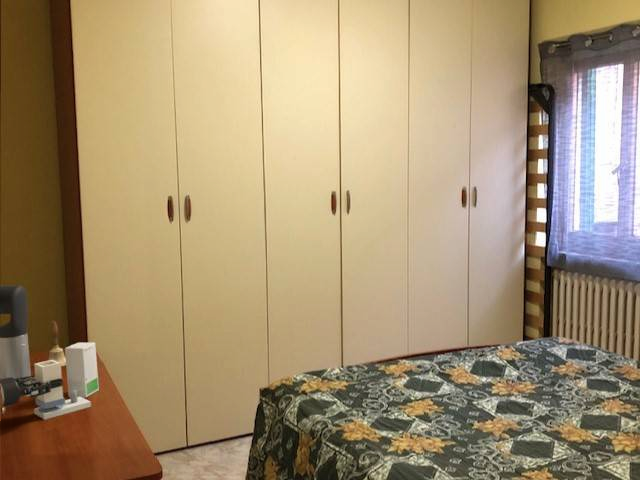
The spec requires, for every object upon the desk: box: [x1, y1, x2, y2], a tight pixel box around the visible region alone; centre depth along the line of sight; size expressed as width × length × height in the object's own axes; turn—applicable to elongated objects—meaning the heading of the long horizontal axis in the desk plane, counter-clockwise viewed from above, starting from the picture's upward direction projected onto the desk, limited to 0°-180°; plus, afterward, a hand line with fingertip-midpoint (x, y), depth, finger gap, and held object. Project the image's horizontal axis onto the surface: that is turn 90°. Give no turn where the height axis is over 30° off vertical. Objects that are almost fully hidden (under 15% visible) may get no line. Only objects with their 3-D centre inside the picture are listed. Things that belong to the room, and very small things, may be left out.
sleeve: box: [34, 359, 66, 409], centre depth 206 cm, size 6×6×12 cm
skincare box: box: [64, 342, 100, 399], centre depth 223 cm, size 8×7×16 cm
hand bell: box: [47, 320, 66, 368], centre depth 257 cm, size 8×8×16 cm
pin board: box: [33, 390, 92, 420], centre depth 209 cm, size 14×7×5 cm, turn 134°
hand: (57, 379), depth 208 cm, fingers closed on sleeve, 5 cm apart
